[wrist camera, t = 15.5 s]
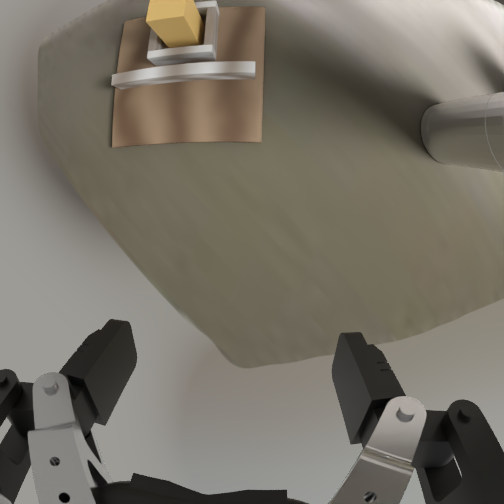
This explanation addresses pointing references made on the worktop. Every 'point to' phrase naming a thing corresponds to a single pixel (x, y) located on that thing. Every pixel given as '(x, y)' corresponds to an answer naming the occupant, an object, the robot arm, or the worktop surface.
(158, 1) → the block
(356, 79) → the worktop surface
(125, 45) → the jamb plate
